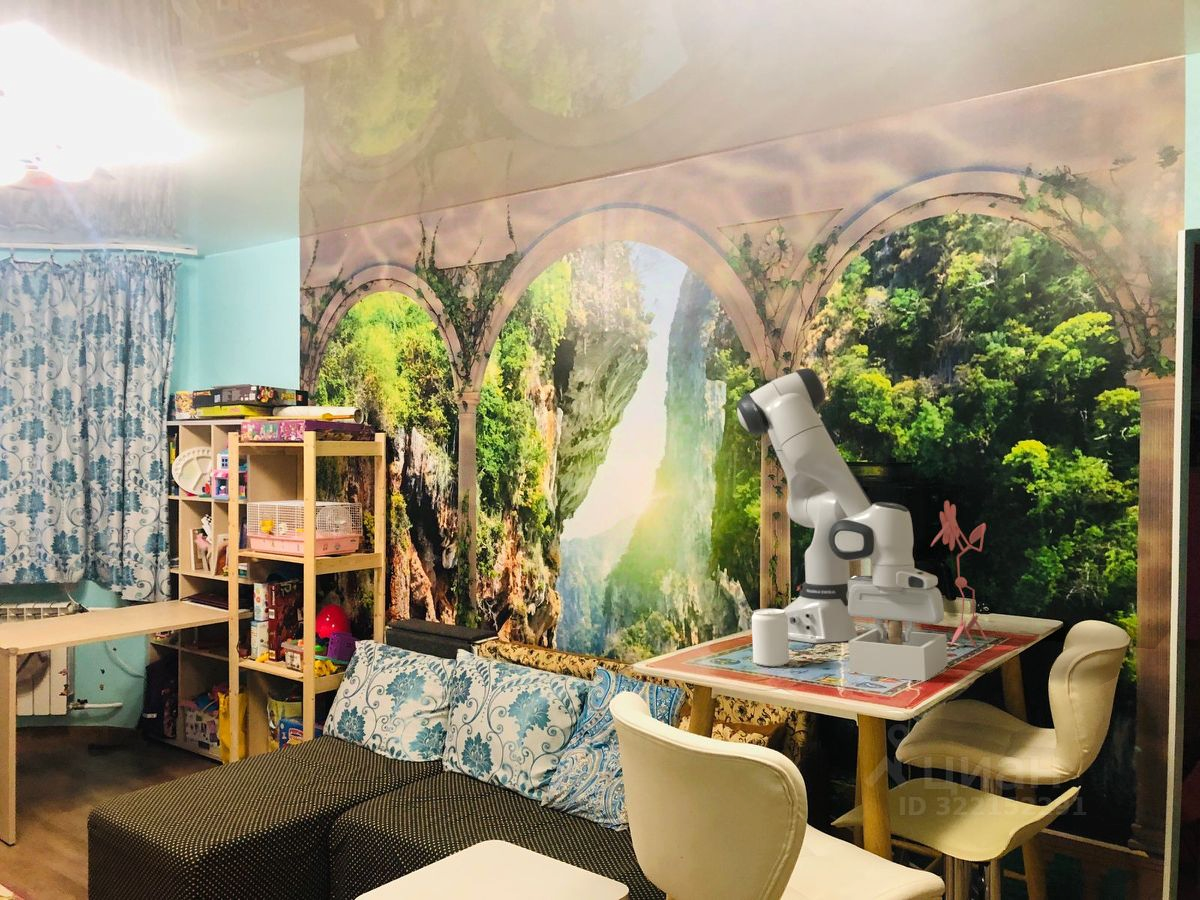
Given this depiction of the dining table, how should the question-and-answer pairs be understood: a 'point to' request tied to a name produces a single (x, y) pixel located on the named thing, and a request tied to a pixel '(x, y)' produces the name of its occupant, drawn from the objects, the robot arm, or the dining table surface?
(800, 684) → the dining table surface
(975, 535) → the pink stick figurine
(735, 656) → the dining table surface
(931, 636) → the peg box
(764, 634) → the beverage can
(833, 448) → the robot arm
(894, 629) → the peg
